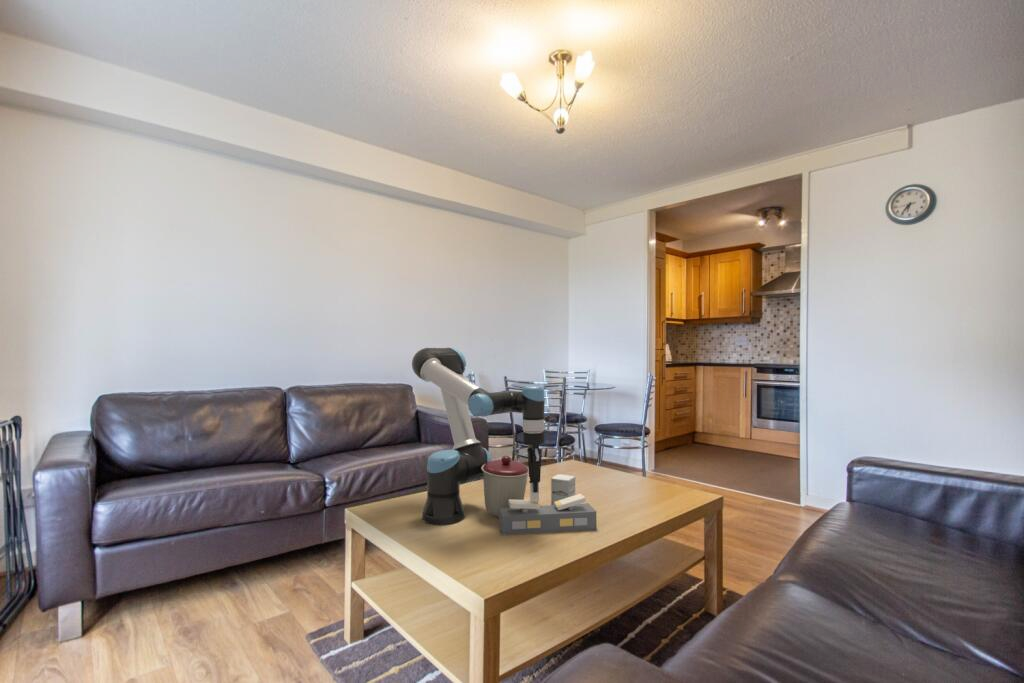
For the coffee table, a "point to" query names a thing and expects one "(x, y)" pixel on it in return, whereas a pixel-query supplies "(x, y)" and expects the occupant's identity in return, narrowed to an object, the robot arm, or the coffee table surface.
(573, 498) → the bar
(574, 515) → the console
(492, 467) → the canister
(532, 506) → the rocker
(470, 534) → the coffee table surface
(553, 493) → the supplement box
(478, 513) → the coffee table surface
